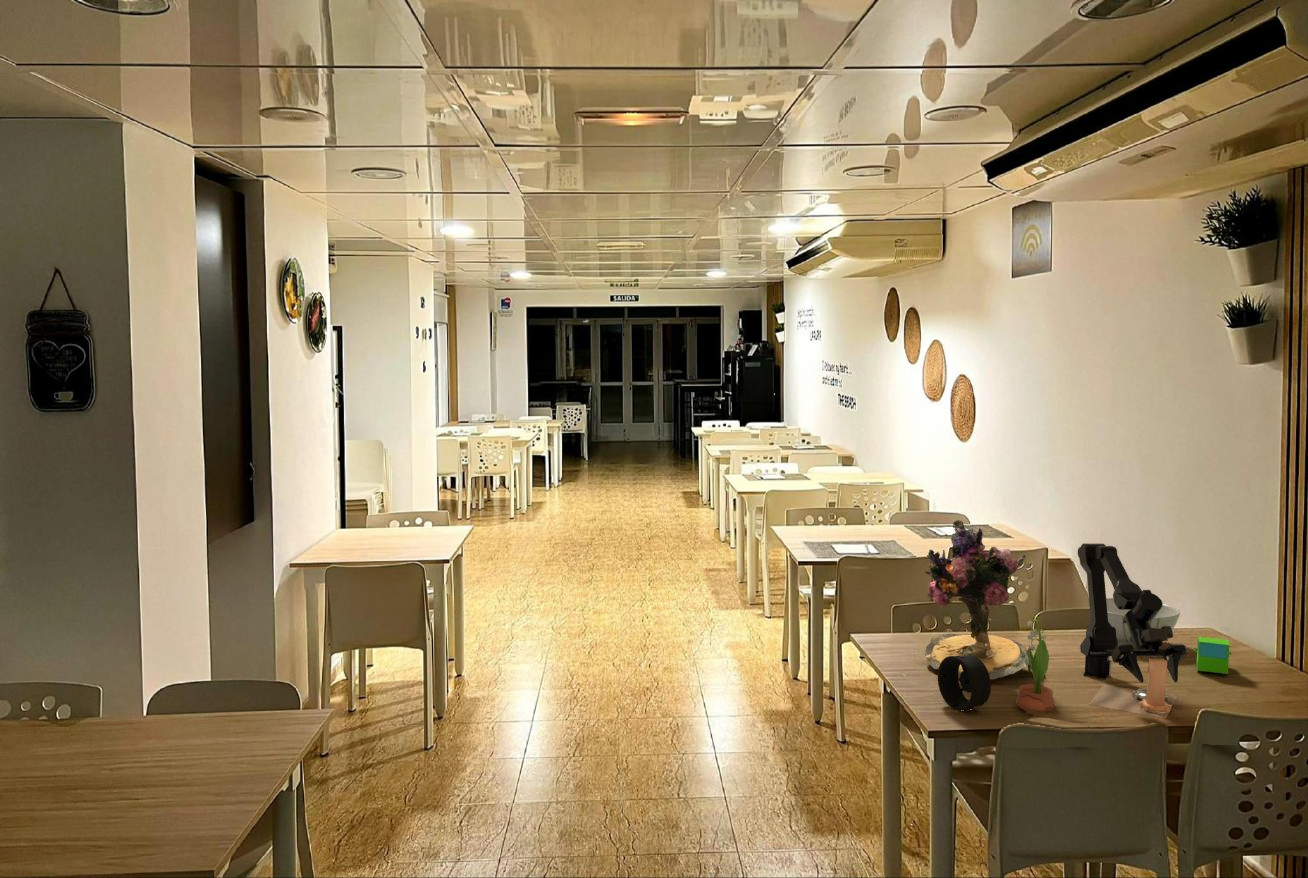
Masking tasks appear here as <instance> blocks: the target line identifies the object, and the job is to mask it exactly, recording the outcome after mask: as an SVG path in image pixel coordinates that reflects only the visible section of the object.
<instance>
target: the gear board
mask: <svg viewBox="0 0 1308 878" xmlns="http://www.w3.org/2000/svg"><path fill="white" fill-rule="evenodd" d="M1137 690H1138V689H1132V688H1128V687H1127V688H1126V687H1122V686H1121V687H1120V686H1115V685H1110V684H1103V685H1102V686H1101V687H1100V689H1099V690H1098V692H1097V693H1096V694H1095V695H1094V697H1093V699H1091V701H1090V703H1088V705H1089V706H1093V707H1099V708H1103V709H1104V708H1105V709H1110V710H1116V711H1121V712H1125V713H1132V714H1138V715H1143V716H1149V717H1154V718H1161V719H1167V717H1168V716H1169V714H1170V712H1171V710H1169V712H1168V713H1166V712H1159V713H1156V712H1154V711H1150V710H1144V708H1143V707H1140V706H1139V705H1140V701H1141V700H1136V699H1135V696H1132V692H1133V691H1137ZM1165 696H1168V701H1167V702H1166V703H1167V704H1168V705H1171V709H1172V708H1173V706H1174V704H1175V702H1176V700H1177V698H1178V696H1174V695H1170V694H1165ZM1141 702H1142V701H1141Z"/></svg>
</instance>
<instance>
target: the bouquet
mask: <svg viewBox="0 0 1308 878" xmlns="http://www.w3.org/2000/svg"><path fill="white" fill-rule="evenodd" d="M952 527H953V529H954V530H953V531H954V532H955V533H952V537H951V538H950V541H951V544H952V547H951V553H952V558H946V550H944V549H943V550H942V555H940V552H939V551H937V552H936V553H935V551H934V550H933V549H929V550H928V554H927V555H926V558H927V559H928V561H929V562H931V563H932V564H934V566H931V565H929V566H928V568H929V570H928V571H926V570H925V571H924V574H927V575H928V576H930V577H931V578H932V579H933V580H934V581H931V582H928V583H927V584H928V585H927V586H928V592H927V597H928V598H931V599H932V600H933V601H934V602H935V603H936V604H937V606H938V607H941V608H944V607H947V606H948V605H951V604H952V603H953V601H952V600H951V599H952V598H955V597H956V599H957V600H958V601H960V602H961V603H963V604H964V605H965V606H966V608H967V609H968V613H969V615H970V616H969V617H970V624H969V625H970V630H971V631H970V632H971V633H970V634H965V635H963V634H958V633H946V634H945V633H944V634H939V635H937V636H935V637H932V638H931V639H930V640H929V641H930V642H929V643H928V644H927V645H926V646H925V650H924V651H925V652H924V655H925V659H926V661H927V664H928V665H929V666H931V667H932V668H933V669H934V670H938V669H939V666H940V664H941V662H942V660H943V659H945V658H946V657H948V656H965V655H973V656H976V657H977V658H979V659H980V660H981V661H982V662H983V663H984V665H985V666H986V668H987V670H988V673H989V676H990V681H991V680H996V679H998V678H1004V677H1005V676H1009V675H1013V674H1015V673H1017V672H1019V671H1020V670H1022V669H1023V668H1026V667H1027V671H1028V672H1030V671H1031V668H1030V665H1029V660H1028V649H1027V648H1026V646H1025V645H1024V644H1021V643H1020V642H1017V641H1015V640H1013V639H1010V638H1005V637H1002V636H999V635H998V636H997V635H991V634H989V633H988V630H989V629H988V628H989V618H990V617H989V616H990V609H989V606H991V607H999V606H1002V605H1004V604H1005V603H1007V602H1008V600H1009V598H1010V595H1009V593H1008V587H1009V577H1010V576H1012V575H1013V574H1015V573H1016V571H1018V569H1019V567H1022V565H1024V563H1025V561H1026V558H1027V557H1026V555H1025V554H1022V556H1021V557H1020V558H1019V559H1018V558H1013V559H1012V558H1011V557H1012V556H1011V555H1012V554H1013V551H1011V549H1009V548H1007V549H1006V548H1005V547H1003V548H999V549H998V548H997V547H996V546H991V548H990V549H989V551H988V552H986V551H984V550H985V549H986V545H984V544H983V535H984V533H983V532H984V531H983V530H982V528H978V529H977V530H978V531H977V532H975V531H974V528H973V527H971V528H968V529H966V526H965V524H964V521H962V520H959V519H956V520H954V521H953V523H952ZM940 556H941V557H940ZM962 671H963V669H962V666H961V664H960V667H959V672H958V678H959V679H960V675H961V673H962Z"/></svg>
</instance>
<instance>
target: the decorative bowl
mask: <svg viewBox="0 0 1308 878" xmlns="http://www.w3.org/2000/svg"><path fill="white" fill-rule="evenodd" d="M1106 601H1107V612H1108V622H1109V623H1110V624H1111V626H1112V627H1115V629H1116V637H1117V640H1118V644H1131V645H1133V647H1135V646H1134V643H1133V642H1130V639H1129V638H1130V637H1131V634H1130V631H1129V629H1128V626H1127V623H1123V618H1124V616H1125V614H1126V613H1127V612H1128V611H1129V610H1120V609H1118V608H1117V606H1116V605H1115V603H1114V598H1113V597H1106ZM1180 616H1181V612H1180V610H1179V609H1177V608H1176V607H1175V606H1172V605H1169V604H1166V603H1163V605H1162V608H1161V609H1160V610H1159V612H1158V613H1157V614H1156V616H1155V617H1154V618H1153V619H1152V620H1151V621H1149V622H1150V625H1151V627H1152V628H1161V627H1164V626H1170V627H1171V629H1172V630H1174V628H1175V626H1176V625H1177V623H1178V621H1179V618H1180Z"/></svg>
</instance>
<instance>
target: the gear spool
mask: <svg viewBox="0 0 1308 878" xmlns="http://www.w3.org/2000/svg"><path fill="white" fill-rule="evenodd" d="M1147 671H1148V672H1147V684H1146V685H1147V686H1146V687H1147V689H1146V690H1147V700H1146V699H1142V702H1141V701H1140V705H1139V706H1140V707H1143V708H1144V710H1150V711H1154V712H1156V713H1159V712H1166V713H1168V712H1169V710H1170V711H1171V710H1172V708H1171V705H1168V704H1167V703H1166V702H1165V695H1166V687H1167V673H1168V669H1167V661H1166V660H1164V658H1160V657H1159V658H1158V657H1150V658H1148V670H1147ZM1169 713H1170V712H1169Z"/></svg>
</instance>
